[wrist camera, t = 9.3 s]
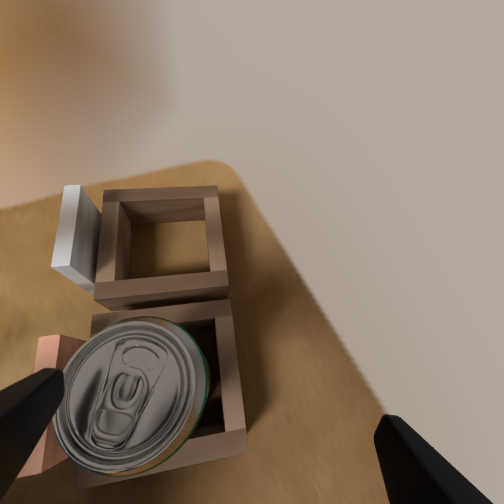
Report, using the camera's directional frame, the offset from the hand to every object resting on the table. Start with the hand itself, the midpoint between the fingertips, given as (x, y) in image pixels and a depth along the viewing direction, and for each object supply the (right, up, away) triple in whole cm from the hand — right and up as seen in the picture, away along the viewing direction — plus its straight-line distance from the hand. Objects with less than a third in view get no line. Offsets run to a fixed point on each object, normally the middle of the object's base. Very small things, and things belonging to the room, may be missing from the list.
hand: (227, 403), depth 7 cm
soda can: (-5, -5, +12) cm, 14 cm away
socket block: (-6, 0, +14) cm, 15 cm away
